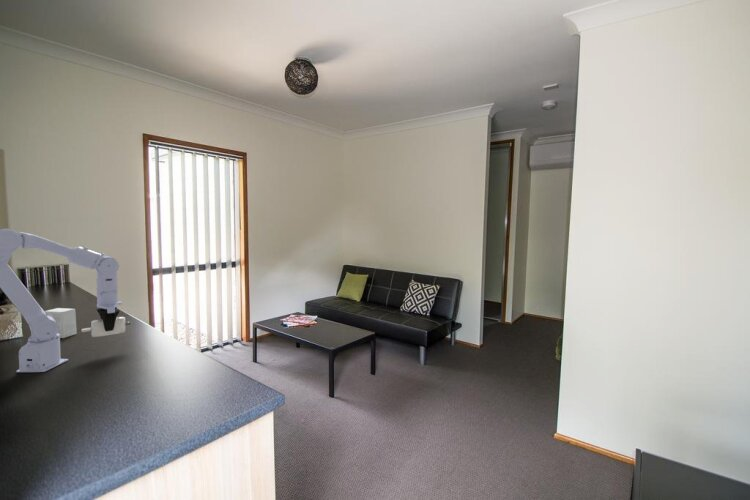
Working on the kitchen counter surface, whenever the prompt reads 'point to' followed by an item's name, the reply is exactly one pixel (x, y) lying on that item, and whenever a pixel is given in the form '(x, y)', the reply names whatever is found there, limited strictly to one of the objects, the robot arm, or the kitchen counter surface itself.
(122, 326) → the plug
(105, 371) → the kitchen counter surface
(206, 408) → the kitchen counter surface
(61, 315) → the small box
